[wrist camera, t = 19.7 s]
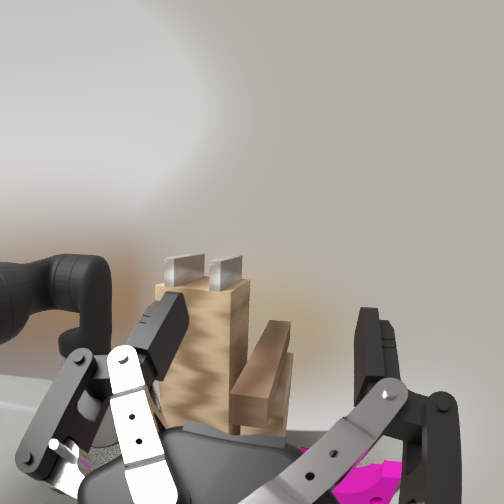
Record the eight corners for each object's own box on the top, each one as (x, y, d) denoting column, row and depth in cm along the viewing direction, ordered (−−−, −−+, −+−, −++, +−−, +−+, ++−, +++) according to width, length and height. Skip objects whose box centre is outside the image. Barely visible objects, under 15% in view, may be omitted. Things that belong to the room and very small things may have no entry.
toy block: (390, 485, 35) (403, 451, 34) (385, 511, 29) (400, 478, 29) (301, 471, 41) (306, 438, 41) (287, 494, 36) (293, 461, 35)
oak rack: (171, 482, 37) (155, 257, 35) (193, 448, 46) (188, 252, 44) (273, 503, 34) (294, 265, 32) (281, 463, 43) (299, 258, 41)
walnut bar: (229, 423, 24) (229, 393, 24) (268, 339, 48) (269, 320, 48) (265, 428, 24) (268, 398, 23) (289, 341, 47) (290, 321, 47)
